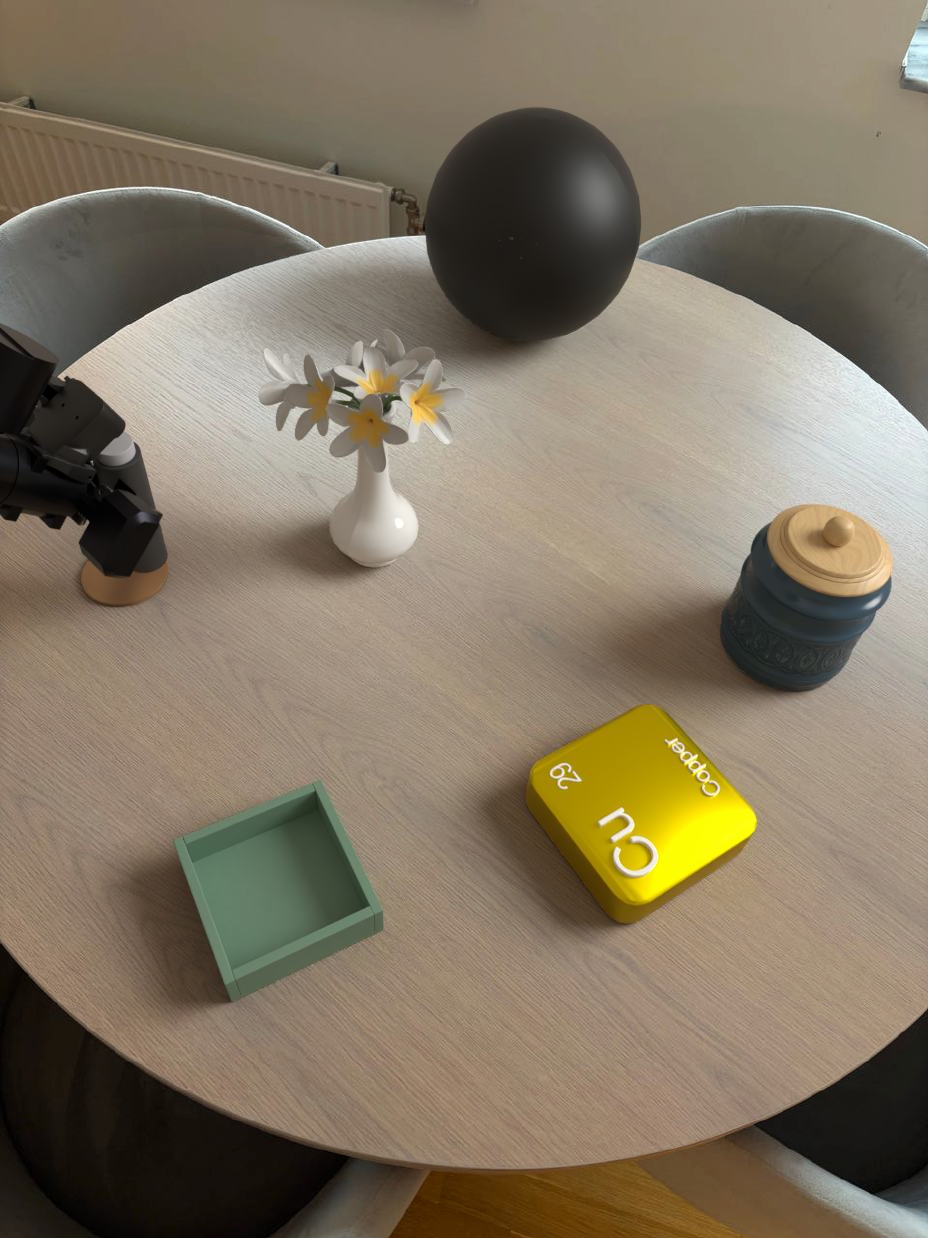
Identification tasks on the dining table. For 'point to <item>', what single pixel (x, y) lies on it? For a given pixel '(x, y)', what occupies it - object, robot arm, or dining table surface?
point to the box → (278, 888)
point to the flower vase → (368, 434)
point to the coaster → (122, 586)
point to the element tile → (638, 811)
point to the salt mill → (129, 466)
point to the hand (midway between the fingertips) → (146, 505)
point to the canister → (805, 596)
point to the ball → (533, 224)
